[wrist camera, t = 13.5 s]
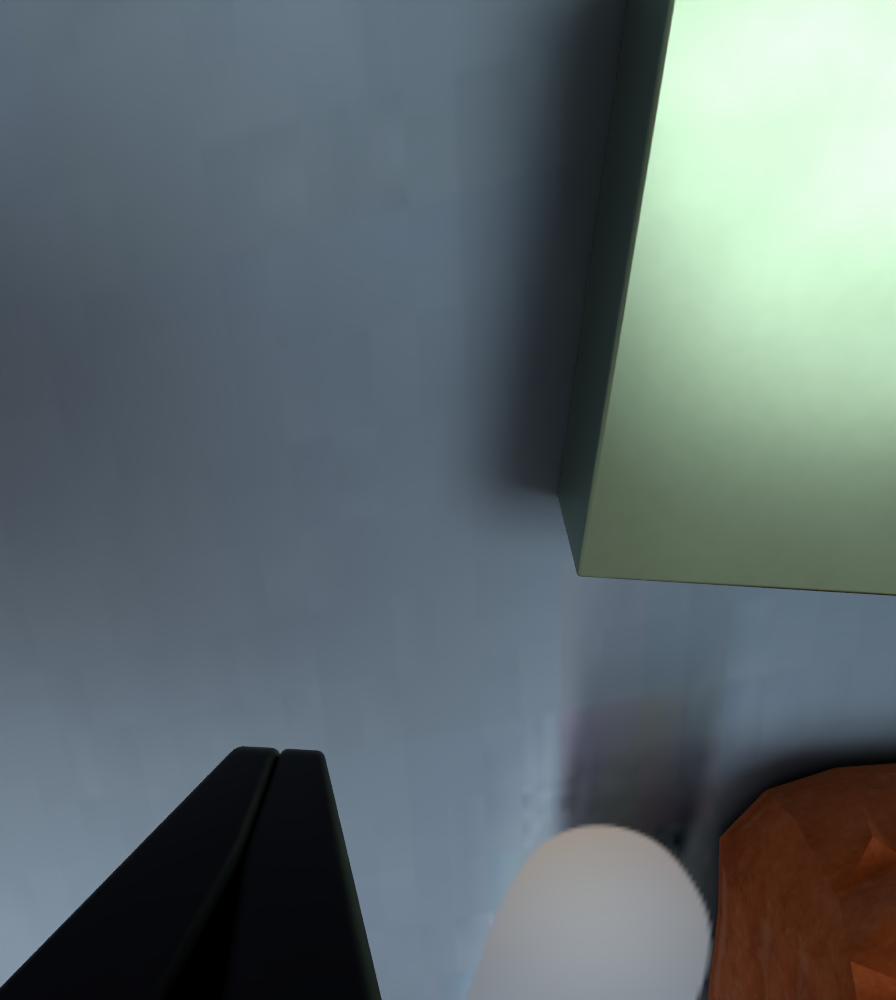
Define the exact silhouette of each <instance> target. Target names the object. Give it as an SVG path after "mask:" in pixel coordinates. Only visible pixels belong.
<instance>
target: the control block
mask: <svg viewBox="0 0 896 1000" xmlns="http://www.w3.org/2000/svg"><path fill="white" fill-rule="evenodd" d="M558 499H559V503H560V507H561V511H562V515H563V519H564V523H565V527H566V531H567V535H568V539H569V543H570V547H571V551H572V555H573V559H574V563H575V567H576V572H577V575H578V576H581V577H598V578H614V579H631V580H647V581H663V582H680V583H696V584H713V585H729V586H745V587H762V588H778V589H795V590H811V591H827V592H844V593H860V594H877V595H893V596H896V0H627V7H626V14H625V21H624V28H623V35H622V42H621V49H620V56H619V64H618V71H617V78H616V85H615V92H614V99H613V106H612V113H611V121H610V128H609V135H608V142H607V149H606V156H605V163H604V170H603V178H602V185H601V192H600V199H599V206H598V213H597V220H596V227H595V235H594V242H593V249H592V256H591V263H590V270H589V277H588V284H587V292H586V299H585V306H584V313H583V320H582V327H581V334H580V341H579V349H578V356H577V363H576V370H575V377H574V384H573V391H572V398H571V406H570V413H569V420H568V427H567V434H566V441H565V448H564V455H563V463H562V470H561V477H560V484H559V491H558Z"/></svg>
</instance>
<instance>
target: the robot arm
mask: <svg viewBox="0 0 896 1000" xmlns="http://www.w3.org/2000/svg"><path fill="white" fill-rule="evenodd" d="M0 1000H382V999H381V995H380V991H379V986H378V982H377V978H376V974H375V969H374V965H373V961H372V956H371V952H370V948H369V944H368V939H367V935H366V931H365V926H364V922H363V918H362V914H361V909H360V905H359V901H358V896H357V892H356V888H355V884H354V879H353V875H352V871H351V866H350V862H349V858H348V854H347V849H346V845H345V841H344V836H343V832H342V828H341V824H340V819H339V815H338V811H337V806H336V802H335V798H334V794H333V789H332V785H331V781H330V776H329V772H328V768H327V764H326V759H325V756H324V754H323V753H322V752H320V751H317V750H300V749H285V750H284V751H282V752H281V754H280V753H279V751H277V750H276V749H274V748H264V747H246V746H241V747H238V748H236V749H234V750H233V751H232V752H231V753H230V754H229V755H228V756H227V757H226V758H225V759H224V760H223V761H222V762H221V763H220V764H219V765H218V766H217V767H216V768H215V769H214V770H213V771H212V772H211V773H210V774H209V775H208V776H207V777H206V778H205V779H204V780H203V781H202V782H201V783H200V784H199V785H198V786H197V787H196V788H195V789H194V790H193V791H192V792H191V793H190V794H189V795H188V796H187V797H186V798H185V800H184V801H183V802H182V803H181V804H180V805H179V806H178V807H177V808H176V809H175V810H174V811H173V812H172V813H171V814H170V815H169V816H168V817H167V818H166V819H165V820H164V821H163V822H162V823H161V824H160V825H159V826H158V827H157V828H156V829H155V830H154V831H153V832H152V833H151V834H150V835H149V836H148V837H147V838H146V839H145V840H144V841H143V842H142V843H141V844H140V845H139V846H138V848H137V849H136V850H135V851H134V852H133V853H132V854H131V855H130V856H129V857H128V858H127V859H126V860H125V861H124V862H123V863H122V864H121V865H120V866H119V867H118V868H117V869H116V870H115V871H114V872H113V873H112V874H111V875H110V876H109V877H108V878H107V879H106V880H105V881H104V882H103V883H102V884H101V885H100V886H99V887H98V888H97V889H96V890H95V891H94V892H93V893H92V895H91V896H90V897H89V898H88V899H87V900H86V901H85V902H84V903H83V904H82V905H81V906H80V907H79V908H78V909H77V910H76V911H75V912H74V913H73V914H72V915H71V916H70V917H69V918H68V919H67V920H66V921H65V922H64V923H63V924H62V925H61V926H60V927H59V928H58V929H57V930H56V931H55V932H54V933H53V934H52V935H51V936H50V937H49V938H48V939H47V940H46V941H45V943H44V944H43V945H42V946H41V947H40V948H39V949H38V950H37V951H36V952H35V953H34V954H33V955H32V956H31V957H30V958H29V959H28V960H27V961H26V962H25V963H24V964H23V965H22V966H21V967H20V968H19V969H18V970H17V971H16V972H15V973H14V974H13V975H12V976H11V977H10V978H9V979H8V980H7V981H6V982H5V983H4V984H3V985H2V986H1V987H0Z"/></svg>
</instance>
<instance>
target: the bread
mask: <svg viewBox="0 0 896 1000" xmlns="http://www.w3.org/2000/svg"><path fill="white" fill-rule="evenodd" d="M707 996H708V999H709V1000H896V763H891V764H878V765H865V766H852V767H839V768H833V769H830V770H827V771H824V772H821V773H818V774H814V775H811V776H808V777H805V778H802V779H799V780H796V781H792V782H789V783H786V784H783V785H780V786H777V787H773V788H770V789H767V790H765V792H764V793H763V794H762V795H761V796H760V797H759V798H758V799H757V800H756V801H755V802H754V803H753V804H752V805H751V806H750V807H749V808H748V809H747V810H746V811H745V812H744V813H743V814H742V815H741V816H740V817H739V818H738V819H737V820H736V821H735V822H734V823H733V824H732V825H731V826H730V827H729V828H728V829H727V830H726V831H725V832H724V833H723V834H722V835H721V836H720V837H719V886H718V914H717V922H716V930H715V938H714V946H713V954H712V962H711V970H710V978H709V986H708V994H707Z"/></svg>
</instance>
